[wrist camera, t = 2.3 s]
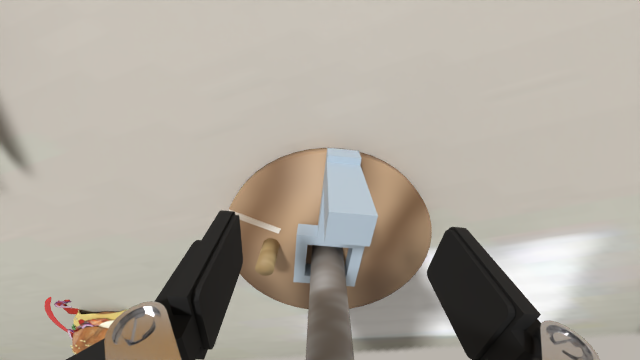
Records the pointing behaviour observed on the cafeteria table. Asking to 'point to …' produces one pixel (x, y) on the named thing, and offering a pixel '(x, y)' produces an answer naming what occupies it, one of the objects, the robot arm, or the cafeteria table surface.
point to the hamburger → (84, 325)
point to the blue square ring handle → (339, 215)
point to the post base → (303, 206)
